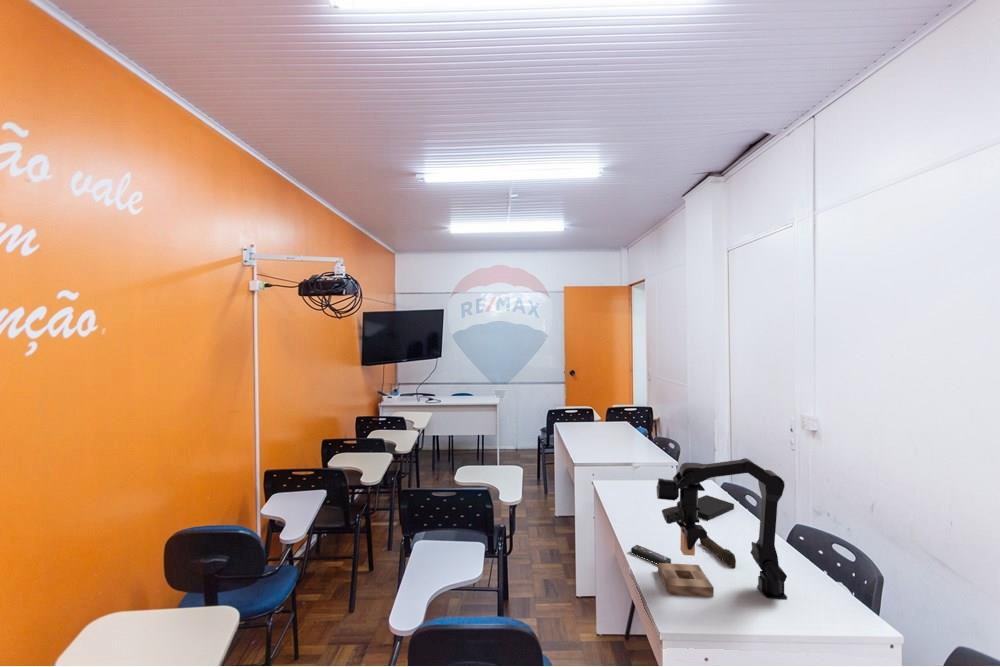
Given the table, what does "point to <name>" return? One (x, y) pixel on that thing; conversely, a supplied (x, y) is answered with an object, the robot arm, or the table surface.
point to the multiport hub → (649, 555)
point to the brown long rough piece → (720, 551)
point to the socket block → (685, 579)
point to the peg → (684, 545)
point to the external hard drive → (713, 507)
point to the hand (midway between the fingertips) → (687, 546)
